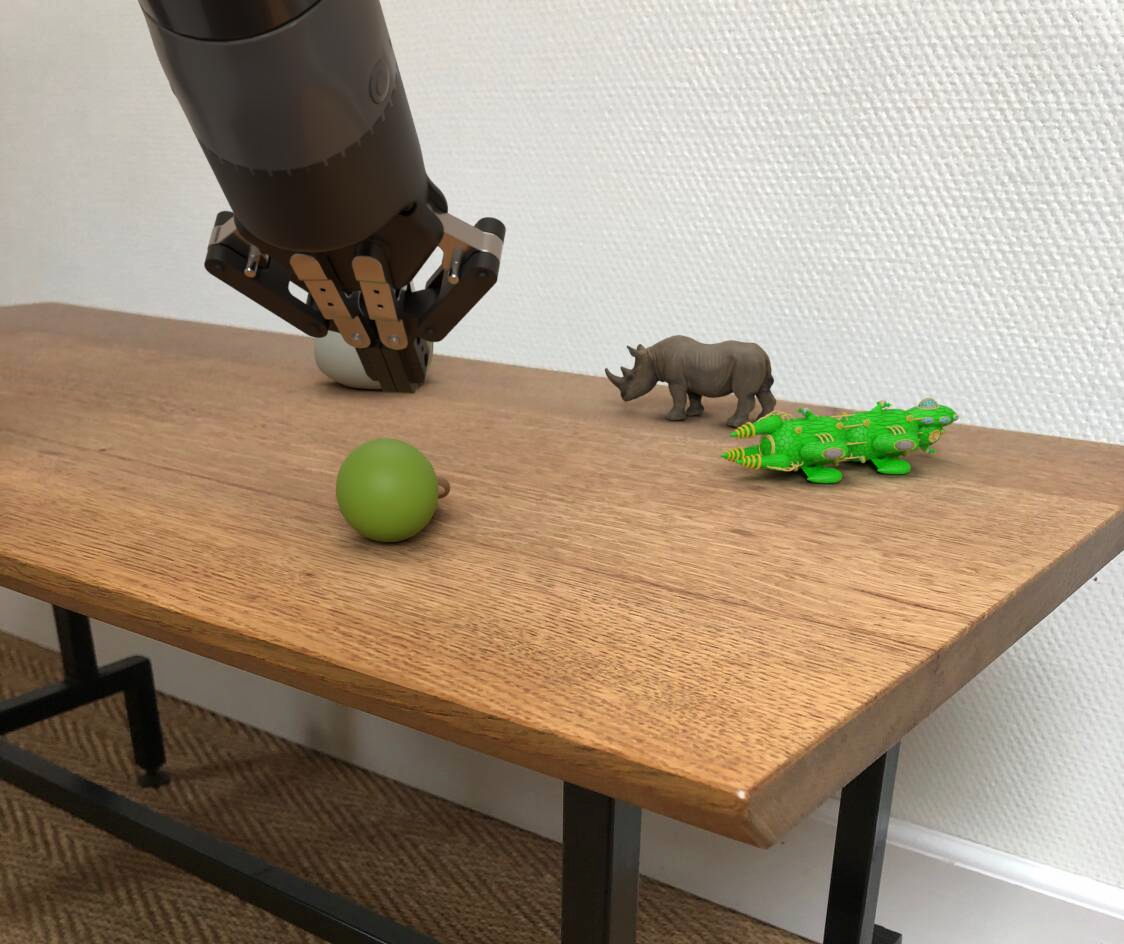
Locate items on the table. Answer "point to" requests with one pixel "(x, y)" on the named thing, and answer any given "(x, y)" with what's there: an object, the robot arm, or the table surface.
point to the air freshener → (345, 362)
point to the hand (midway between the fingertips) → (402, 376)
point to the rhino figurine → (701, 375)
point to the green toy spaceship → (842, 439)
